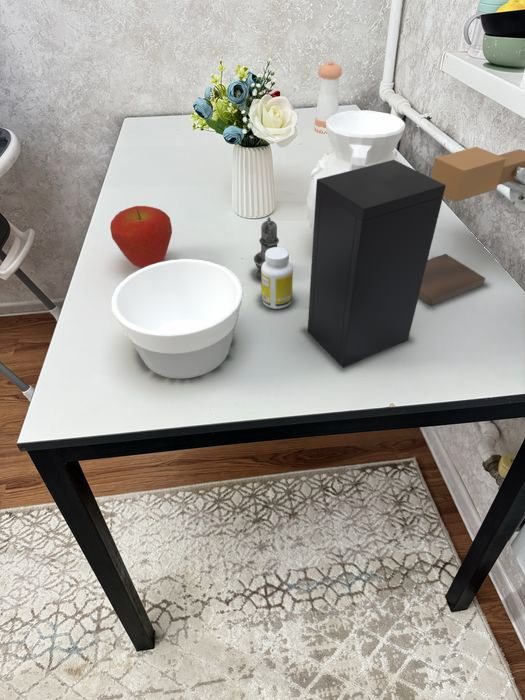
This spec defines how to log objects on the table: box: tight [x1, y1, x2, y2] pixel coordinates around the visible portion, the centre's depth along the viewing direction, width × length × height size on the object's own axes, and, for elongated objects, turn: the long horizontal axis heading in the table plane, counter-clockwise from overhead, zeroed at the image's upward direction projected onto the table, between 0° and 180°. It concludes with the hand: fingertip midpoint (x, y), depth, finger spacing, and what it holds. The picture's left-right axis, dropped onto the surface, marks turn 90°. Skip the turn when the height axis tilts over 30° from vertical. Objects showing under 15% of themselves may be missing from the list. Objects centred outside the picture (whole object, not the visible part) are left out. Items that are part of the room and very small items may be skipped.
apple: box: [109, 205, 173, 269], centre depth 93 cm, size 11×11×12 cm
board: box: [418, 253, 486, 307], centre depth 91 cm, size 10×13×2 cm
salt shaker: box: [314, 60, 343, 135], centre depth 148 cm, size 7×7×19 cm
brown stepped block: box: [430, 146, 525, 203], centre depth 80 cm, size 6×19×5 cm, turn 119°
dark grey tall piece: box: [253, 216, 280, 282], centre depth 90 cm, size 6×6×12 cm
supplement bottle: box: [261, 246, 294, 310], centre depth 85 cm, size 5×5×10 cm
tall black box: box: [307, 160, 446, 368], centre depth 72 cm, size 10×13×26 cm
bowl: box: [110, 258, 244, 380], centre depth 75 cm, size 19×19×11 cm
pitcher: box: [306, 109, 406, 234], centre depth 92 cm, size 19×18×25 cm
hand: (503, 165), depth 81 cm, fingers closed on brown stepped block, 4 cm apart
